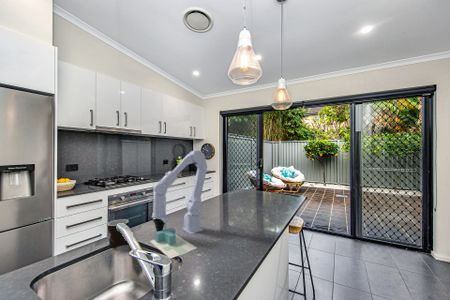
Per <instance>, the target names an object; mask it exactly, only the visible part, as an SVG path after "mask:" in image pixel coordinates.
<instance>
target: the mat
mask: <svg viewBox="0 0 450 300" xmlns="http://www.w3.org/2000/svg"><path fill="white" fill-rule="evenodd" d="M175 235H176V243H175V244H172V245H168V244H167V243H166V242H164V241H162V242H159V243H157V242H156V241H155V239H151V240H149V243H151V244H152V245H153V246H155V247H156V248H157V249H158V250H159V251H160V252H162V253H163V254H164V255H165V256H166V257H167V258H169V259H173V258H175V257H178V256H182V255H186V254H188V253H190V251H194V250H196V249H198V247H196V245H193V244H192V243H190V242H189V241H186V239H184V238H182V237H180V236H179V235H177V234H176V233H175Z"/></svg>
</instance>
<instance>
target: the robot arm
mask: <svg viewBox="0 0 450 300" xmlns="http://www.w3.org/2000/svg"><path fill="white" fill-rule="evenodd" d="M191 164H194V165H195V167H196V174H195V179H194V183H193V188H192V192H191V195H190V197H189V200H188V201H187V203H186V206H185V207H186V211H187V212H186V213H185V214H184V217H183V227H182V230H184V231H185V232H187V233H189V234H190V235H192V234H196V233H198V232H202V231H204V229H203V228H201V212H202V210H203V209H202V193H203V188H204V184H205V179H206V175H207V170H208V164H207V161H206V156H205V154H204V153H203V151H201V150H191V151H190V152H189V153H188V154H187V155H186V156H185V157H184V158H183V159H182V160H181V161H179V163H178V164H177V165H176V167H175V168H174V169H173V170H172V171H171V170H170V171H167V172H165V173H164V174H165V175H164V176H163V177H162V178H161V179H159V180H158V182H157V183H156V184H155V185H154V187H153V190H154V198H153V199H154V200H153V201H154V202H153V212H152V213H151V214H152V215H151V218H152V219H153V220H152V221H153V223H154V225H155V229H156V232H158V231H162V230H164V227H165V224H166V223H168V222H169V218H168V215H167V212H166V211H167V209H166V208H167V196H166V194H167V192H168V189H169V188H170V187H172V184H174V183H175V181H176V180H177V179H178V175H179V174H180V173H181V172H182V171H183V170H184V169H185V168H186V167H187V166H188V165H191Z"/></svg>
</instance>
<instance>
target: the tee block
mask: <svg viewBox="0 0 450 300" xmlns="http://www.w3.org/2000/svg"><path fill="white" fill-rule="evenodd" d="M175 234H176V228H173V227H170V228H167V229H163V230H162V231H158V232H157V231H155V233H154V240H155V241H156V242H157V243H159V242H162V241H164V242H166V243H167V244H168V245H172V244H175V243H176V235H177V234H176V235H175Z"/></svg>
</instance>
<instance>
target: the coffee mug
mask: <svg viewBox="0 0 450 300" xmlns="http://www.w3.org/2000/svg"><path fill="white" fill-rule="evenodd" d="M118 223H124V224H126V225H127V226H128V227H129V220H128V219H124V218H123V219H122V218H121V219H114V220H111V221H109V222H107V233H108V234H107V235H108V245H109V247H110V248H117V247H120V246H122V245H124V244H125V243H126V241H127V239H126V240H125V239H124V237H123V236H122V234H121V233H120V232H118V231H117V229H116V225H117V224H118Z"/></svg>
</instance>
